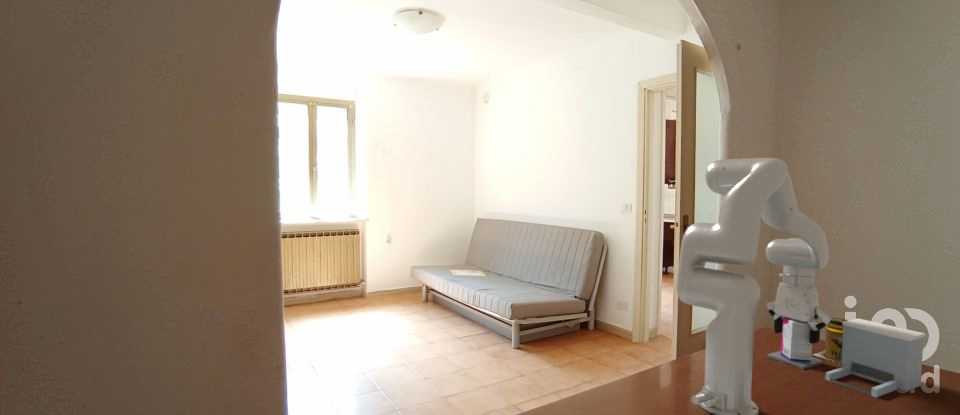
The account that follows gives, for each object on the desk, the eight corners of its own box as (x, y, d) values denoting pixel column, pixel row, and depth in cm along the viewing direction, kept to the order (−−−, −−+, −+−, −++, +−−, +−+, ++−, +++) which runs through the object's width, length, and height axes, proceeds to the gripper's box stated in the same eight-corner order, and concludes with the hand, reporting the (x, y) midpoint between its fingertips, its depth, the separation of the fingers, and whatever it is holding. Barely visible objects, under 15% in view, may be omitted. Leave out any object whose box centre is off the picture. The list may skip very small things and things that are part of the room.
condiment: (845, 365, 129) (847, 324, 128) (812, 355, 136) (813, 316, 136) (857, 360, 132) (859, 321, 132) (824, 351, 140) (826, 313, 139)
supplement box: (812, 362, 128) (814, 323, 128) (789, 360, 129) (791, 322, 129) (801, 355, 134) (803, 317, 134) (779, 353, 135) (781, 316, 135)
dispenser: (884, 400, 107) (888, 344, 107) (818, 377, 120) (820, 327, 120) (922, 385, 116) (925, 333, 115) (855, 365, 129) (858, 318, 128)
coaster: (803, 369, 126) (803, 366, 125) (767, 356, 134) (767, 354, 134) (823, 363, 130) (823, 360, 130) (786, 351, 139) (787, 349, 139)
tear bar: (870, 395, 110) (870, 393, 110) (830, 381, 118) (830, 379, 118) (871, 395, 110) (872, 392, 110) (831, 380, 118) (831, 378, 118)
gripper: (760, 276, 137) (758, 330, 138) (824, 287, 122) (821, 349, 122) (775, 274, 140) (773, 327, 141) (839, 285, 125) (836, 345, 126)
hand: (795, 337), depth 132 cm, fingers open, 9 cm apart
